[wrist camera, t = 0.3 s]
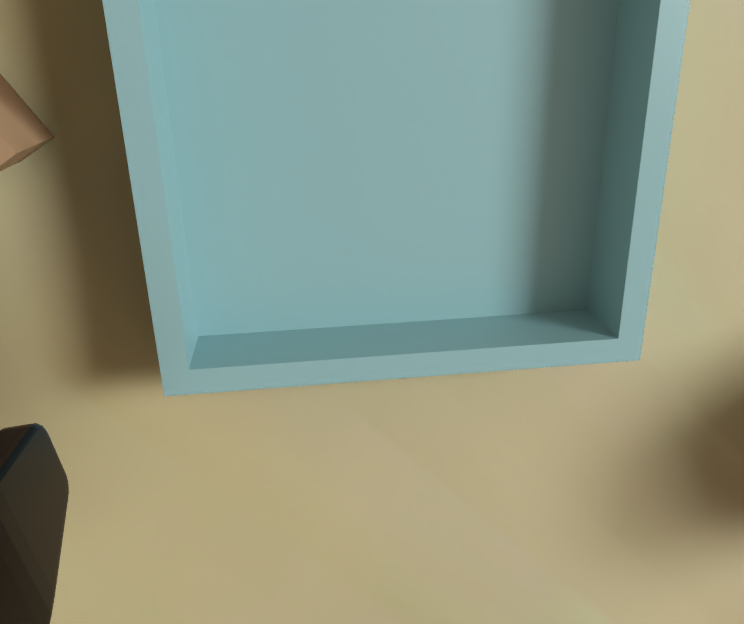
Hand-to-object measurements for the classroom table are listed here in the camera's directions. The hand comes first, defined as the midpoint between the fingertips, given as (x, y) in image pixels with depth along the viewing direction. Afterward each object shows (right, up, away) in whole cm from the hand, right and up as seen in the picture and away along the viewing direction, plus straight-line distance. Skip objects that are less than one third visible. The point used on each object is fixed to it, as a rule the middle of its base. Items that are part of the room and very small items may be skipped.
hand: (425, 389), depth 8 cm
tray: (0, +7, +12) cm, 14 cm away
